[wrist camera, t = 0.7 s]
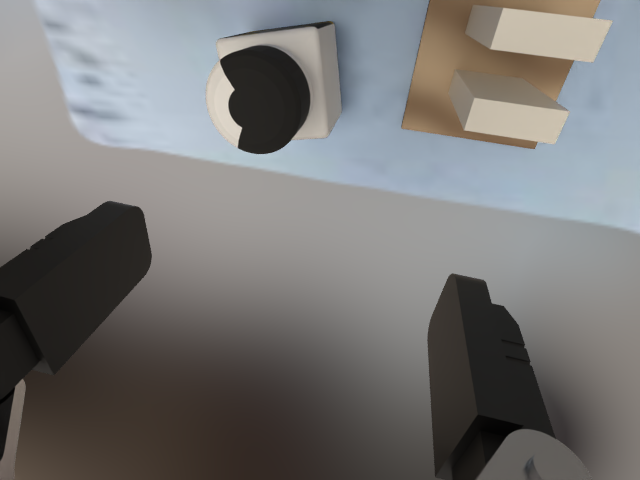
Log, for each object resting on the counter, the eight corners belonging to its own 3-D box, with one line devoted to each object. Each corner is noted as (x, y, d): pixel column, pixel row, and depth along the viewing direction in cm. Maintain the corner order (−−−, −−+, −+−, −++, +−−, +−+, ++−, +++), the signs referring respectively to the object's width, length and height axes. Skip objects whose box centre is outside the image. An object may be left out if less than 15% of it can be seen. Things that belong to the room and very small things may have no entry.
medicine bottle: (335, 20, 29) (297, 32, 19) (342, 113, 32) (315, 164, 23) (250, 31, 30) (174, 48, 21) (266, 119, 34) (210, 168, 24)
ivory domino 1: (473, 4, 26) (503, 7, 18) (546, 13, 25) (613, 20, 17) (464, 33, 27) (490, 49, 19) (535, 42, 26) (593, 62, 18)
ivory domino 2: (454, 68, 28) (474, 98, 20) (522, 78, 28) (569, 111, 20) (448, 93, 29) (464, 130, 21) (512, 102, 29) (554, 144, 21)
